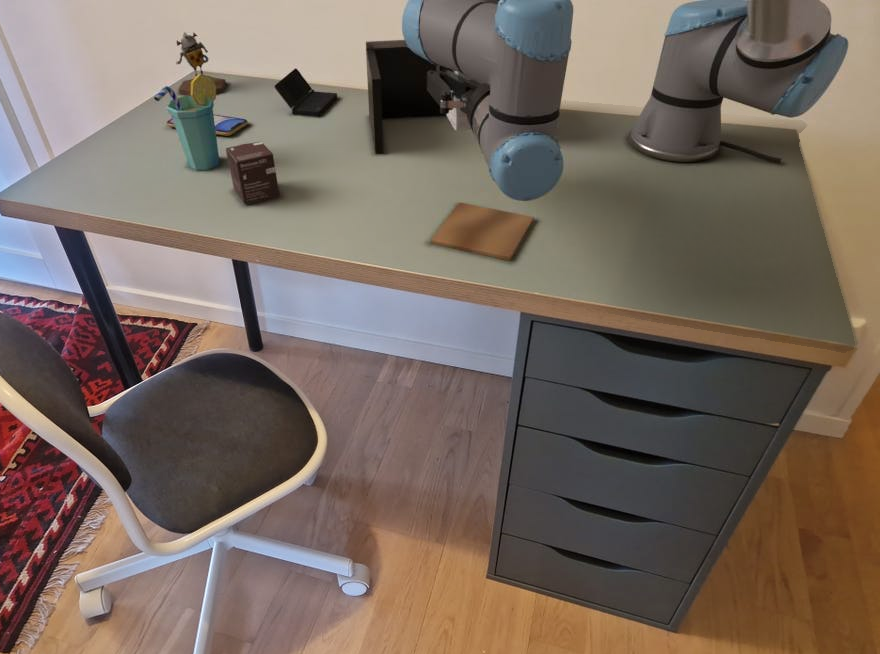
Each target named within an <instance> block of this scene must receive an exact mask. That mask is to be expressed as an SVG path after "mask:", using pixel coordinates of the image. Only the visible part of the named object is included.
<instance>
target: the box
mask: <svg viewBox="0 0 880 654" xmlns="http://www.w3.org/2000/svg"><path fill="white" fill-rule="evenodd" d="M225 153H226V158H227V163H228V166H229V172H230V177H231V182H232V185H233V187H232V188H233V190H234V191H235V193H236V194H237V196H238V197H239V199H240V200H241V201H242V203H243V204H244V205H250V204H255V203H259V202H263V201H267V200H270V199H274V198H278V197H280V190H279V183H278V177H277V172H276V171H277V170H276V164H275V158H274V154H273V152H272V151H271V150H270V149H269V148H268V147H267V146H266V145H265V144H264V142H263V141H262V140H261V141H255V142H249V143H242V144H239V145H235V146H229V147H226V148H225Z"/></svg>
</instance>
